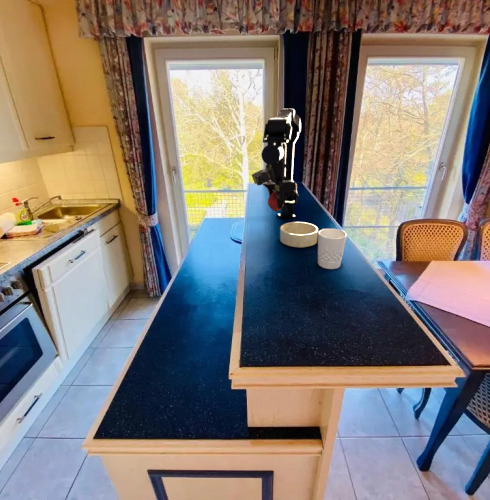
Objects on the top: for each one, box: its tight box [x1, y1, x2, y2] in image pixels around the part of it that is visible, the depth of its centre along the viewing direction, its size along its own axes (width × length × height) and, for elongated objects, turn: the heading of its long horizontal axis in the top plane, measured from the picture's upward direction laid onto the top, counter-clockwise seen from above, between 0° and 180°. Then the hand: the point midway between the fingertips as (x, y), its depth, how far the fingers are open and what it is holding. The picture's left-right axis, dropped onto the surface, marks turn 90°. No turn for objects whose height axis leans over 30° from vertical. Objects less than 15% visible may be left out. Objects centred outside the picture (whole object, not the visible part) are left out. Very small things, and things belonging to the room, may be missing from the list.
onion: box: [267, 192, 284, 213], centre depth 98 cm, size 6×6×8 cm
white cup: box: [317, 228, 348, 270], centre depth 82 cm, size 8×8×10 cm
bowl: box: [279, 221, 319, 248], centre depth 100 cm, size 13×13×5 cm
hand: (276, 206), depth 99 cm, fingers closed on onion, 6 cm apart
